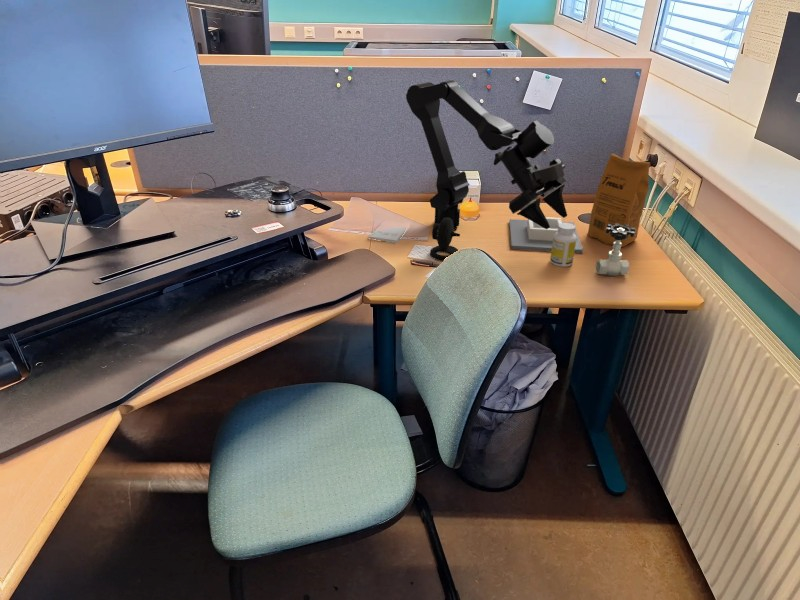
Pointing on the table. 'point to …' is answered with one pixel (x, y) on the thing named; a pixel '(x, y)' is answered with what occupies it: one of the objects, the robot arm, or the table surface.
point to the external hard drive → (388, 234)
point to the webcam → (443, 238)
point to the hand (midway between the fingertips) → (557, 222)
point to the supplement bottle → (563, 245)
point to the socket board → (537, 235)
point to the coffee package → (619, 198)
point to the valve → (615, 252)
